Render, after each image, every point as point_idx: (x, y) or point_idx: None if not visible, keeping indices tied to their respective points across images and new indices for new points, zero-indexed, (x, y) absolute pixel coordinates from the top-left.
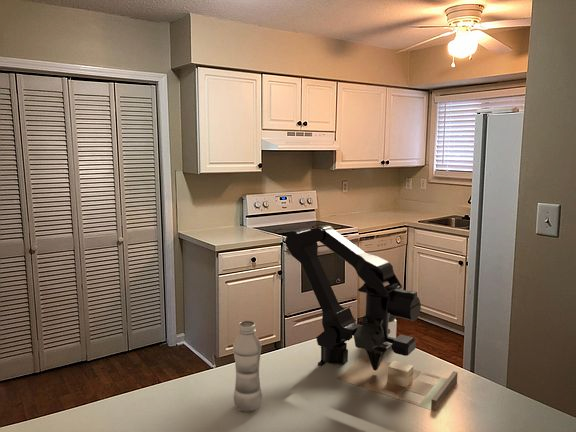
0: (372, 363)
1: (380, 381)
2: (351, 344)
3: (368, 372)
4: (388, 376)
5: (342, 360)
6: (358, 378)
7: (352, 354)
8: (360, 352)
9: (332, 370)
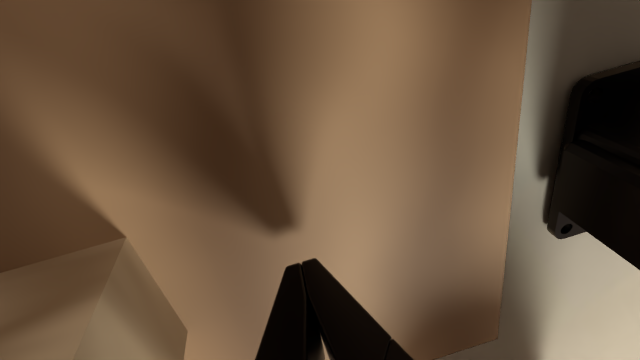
0: (331, 302)
1: (163, 192)
2: (601, 348)
3: (351, 220)
4: (97, 280)
5: (622, 166)
6: (349, 67)
7: (563, 300)
8: (534, 338)
9: (614, 64)
